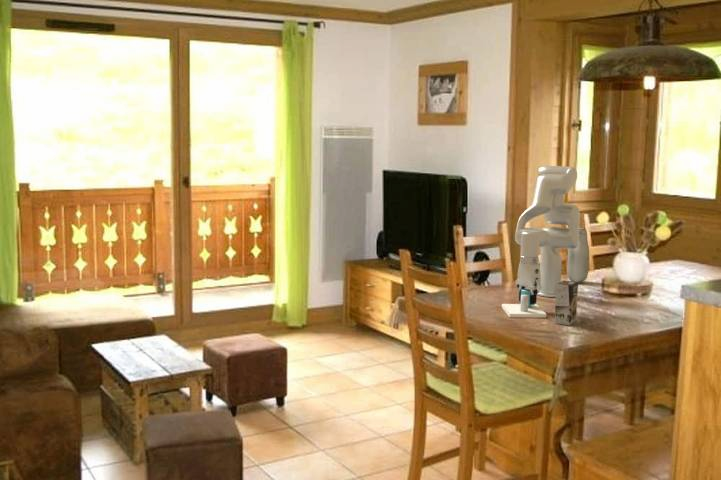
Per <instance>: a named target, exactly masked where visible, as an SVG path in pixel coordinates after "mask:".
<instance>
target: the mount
mask: <svg viewBox="0 0 721 480" xmlns="http://www.w3.org/2000/svg"><path fill="white" fill-rule="evenodd" d="M501 308H502V310H503V311H504V312H505V313H506V315H507V316H508V317H509V318H530V319H531V318H537V319H539V318H543V319H545V318H547V313H546V312H545V311H544V310H543V309H542V308H541V307H540V306H539V305H538V304H537V303H536V304H535V305H530V306H529V305H528V295H521V304H520V303H502V304H501Z"/></svg>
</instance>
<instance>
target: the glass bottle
mask: <svg viewBox="0 0 721 480" xmlns="http://www.w3.org/2000/svg"><path fill="white" fill-rule="evenodd" d="M566 262H567V264H566V266H567V267H566V273H567V278H568V279H569V281H575V282H578V284H582V283H583V282H585V281H586V279H587V278H588V275H589V266H590V265H589V263H590V247H589V242H588V231H587V230H586V228H584V227H581V226H579V241H578V245H577V247H576V248H575V249H567V261H566Z"/></svg>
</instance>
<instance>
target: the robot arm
mask: <svg viewBox="0 0 721 480" xmlns="http://www.w3.org/2000/svg"><path fill="white" fill-rule="evenodd" d="M536 178H537V179H536V181H535V186H534V191H533V196H532V201H531V205H530V206H529V207H528V208H526V210H524V211H523V212H522V214H521V215H520V216H519V218H518V220H517V223H516V228H515V233H514V241H515V242H516V244H517V245H520V252H519V253H520V255H519V258H520V259H519V263H518V269H517V279H515V280H514V282H515V285H516V287H517V290H518V292H519V293H518V301H519V302H520V301H521V289H530V291H531V295H530V304H537V297H538V296H540V297H546V298H556V285H557V283H559V282H561V280H562V279H561V278H562V263H563V262H562V261H563V258H562V255H561V253H560V251H559V249H561V250H562V249H565V250H568V249H575V248H576V247H577V245H578V241H579V227H580V224H581V223H580V221H581V212H580V208H579V207H578V205H576V204H573V203H565V202H564V201H565V195H567V194H568V193H569V192H570V191H571V190H572V188H573V187H574V186H575V184H576V182H577V179H578V172H577V169H576V168H575V167H573V166H566V165H565V166H562V165H544V166H543V165H542V166H540V167H539V168H538V170H537V177H536ZM541 215H543V219H544V221H545V223H547V224H551V225H562V226H563V225H564V226H567V227H560V226H558V227H557V226H546V227H543V228H530V227H526V225H527V223H529V222H530V221H531V220H533V219H535V218H537V217H540V216H541ZM539 251H540V253H539ZM539 254H540V259H539ZM539 263H540V264H539ZM533 289H534V291H533Z"/></svg>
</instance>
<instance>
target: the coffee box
mask: <svg viewBox="0 0 721 480" xmlns="http://www.w3.org/2000/svg"><path fill="white" fill-rule="evenodd" d="M578 290H579V283H578V282H575V281H571V280H562V281H561V282H559V283H557V285H556V297H555V304H554V305H555V306H554V307H555V309H554V324H559V325H566V326H570V325H572V324H573V323H575V322H576V321H577V313H578V310H577V308H578V295H579V294H578V293H579V291H578Z"/></svg>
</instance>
